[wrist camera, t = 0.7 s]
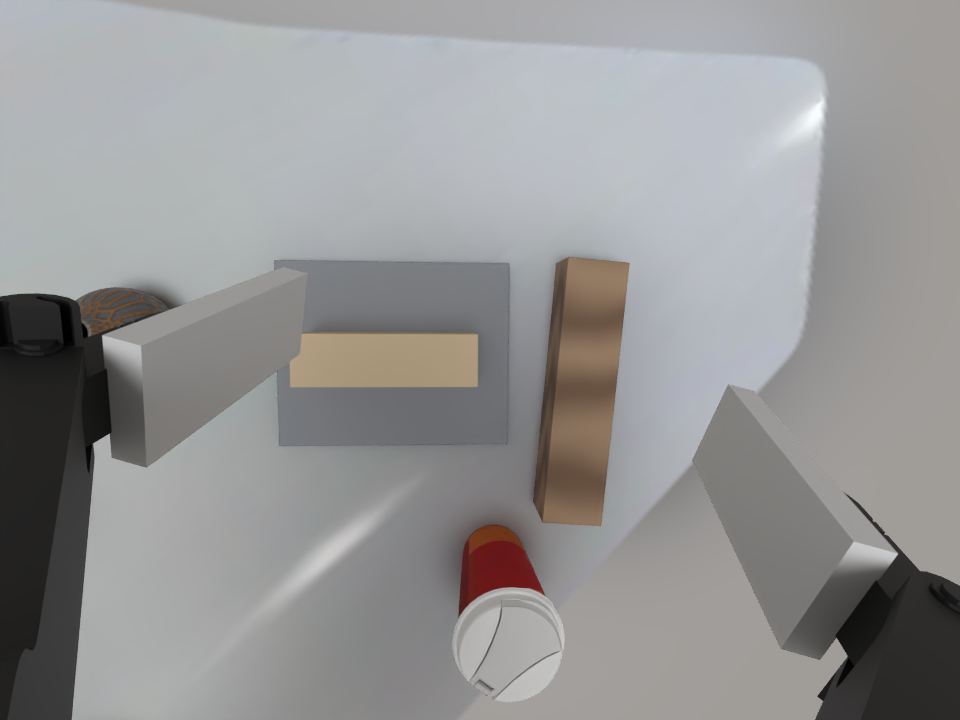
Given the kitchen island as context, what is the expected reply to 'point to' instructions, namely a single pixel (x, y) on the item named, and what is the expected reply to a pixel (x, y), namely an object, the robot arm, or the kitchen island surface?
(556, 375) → the walnut bar
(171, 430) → the robot arm
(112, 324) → the vase
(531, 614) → the paper cup
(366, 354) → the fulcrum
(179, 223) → the kitchen island surface
